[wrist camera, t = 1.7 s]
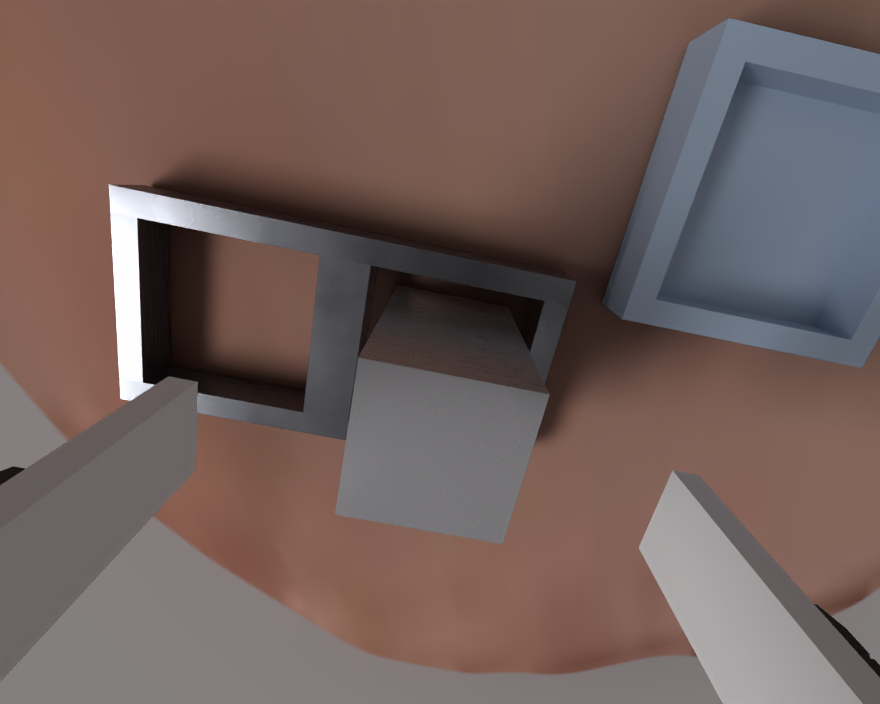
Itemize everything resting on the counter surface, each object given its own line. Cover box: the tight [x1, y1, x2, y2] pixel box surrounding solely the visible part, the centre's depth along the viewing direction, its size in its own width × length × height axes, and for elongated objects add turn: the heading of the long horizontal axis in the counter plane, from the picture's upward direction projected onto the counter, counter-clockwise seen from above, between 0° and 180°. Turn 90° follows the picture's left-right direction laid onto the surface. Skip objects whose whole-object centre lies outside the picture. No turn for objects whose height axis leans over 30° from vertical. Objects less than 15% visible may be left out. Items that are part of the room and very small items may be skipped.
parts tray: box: [602, 18, 880, 368], centre depth 17 cm, size 10×10×2 cm
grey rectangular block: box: [335, 285, 550, 544], centre depth 17 cm, size 5×5×9 cm
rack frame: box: [109, 185, 577, 440], centre depth 20 cm, size 9×18×2 cm, turn 79°
